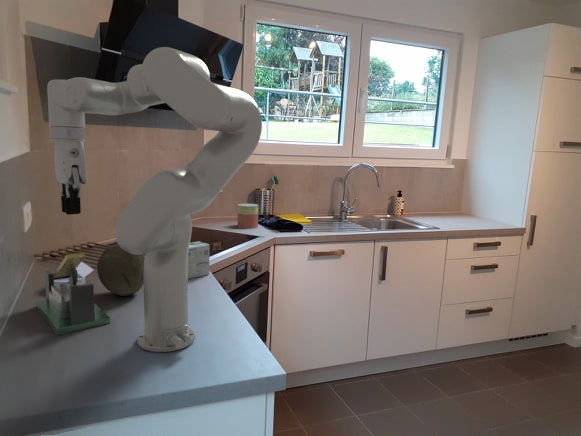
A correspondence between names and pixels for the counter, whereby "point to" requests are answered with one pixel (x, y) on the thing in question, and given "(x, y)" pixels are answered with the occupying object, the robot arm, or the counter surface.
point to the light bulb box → (198, 259)
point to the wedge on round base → (81, 274)
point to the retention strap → (68, 266)
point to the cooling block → (70, 306)
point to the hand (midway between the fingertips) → (71, 212)
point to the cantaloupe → (121, 271)
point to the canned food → (247, 216)
